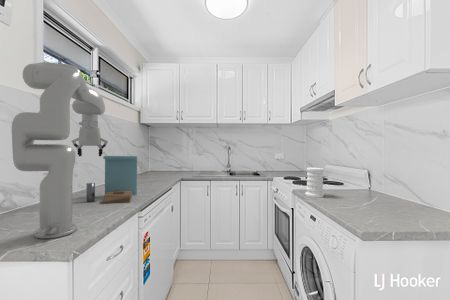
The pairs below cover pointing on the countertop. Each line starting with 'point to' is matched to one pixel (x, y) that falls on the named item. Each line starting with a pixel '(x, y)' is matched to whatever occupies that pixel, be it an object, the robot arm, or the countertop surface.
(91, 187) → the peg
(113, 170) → the teal upright box
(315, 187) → the decorative container
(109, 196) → the socket block
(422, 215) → the countertop surface
